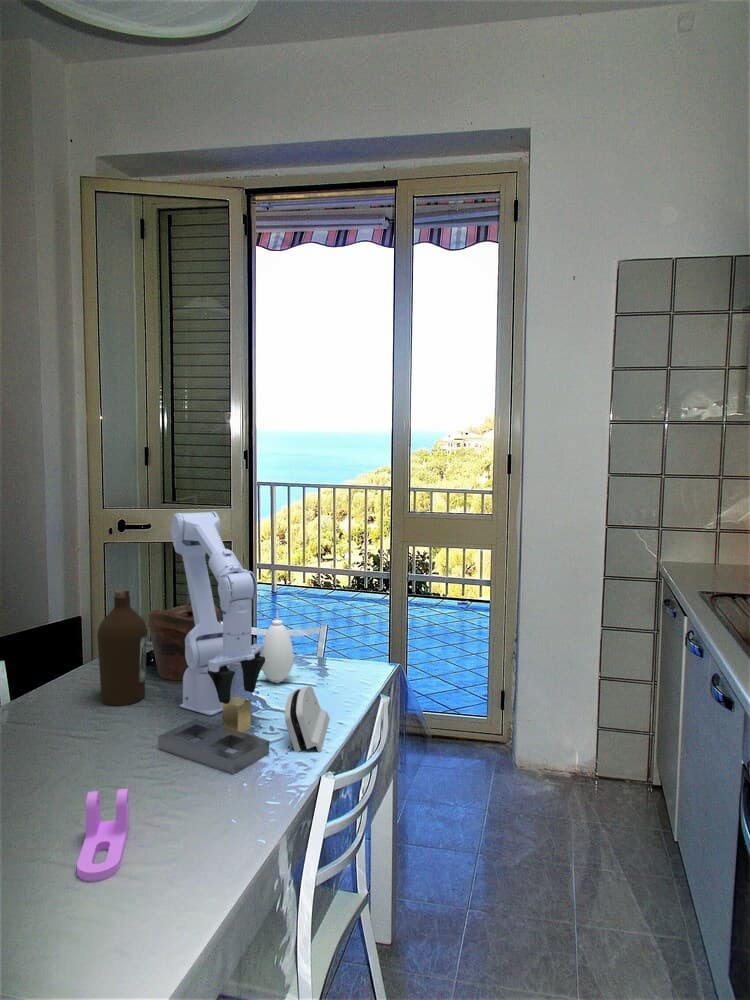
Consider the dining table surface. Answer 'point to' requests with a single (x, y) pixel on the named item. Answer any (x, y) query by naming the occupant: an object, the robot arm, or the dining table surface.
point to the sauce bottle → (277, 652)
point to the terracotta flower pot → (172, 639)
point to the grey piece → (305, 719)
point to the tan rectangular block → (237, 714)
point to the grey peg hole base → (214, 745)
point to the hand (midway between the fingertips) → (237, 696)
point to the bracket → (103, 838)
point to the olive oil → (122, 653)
